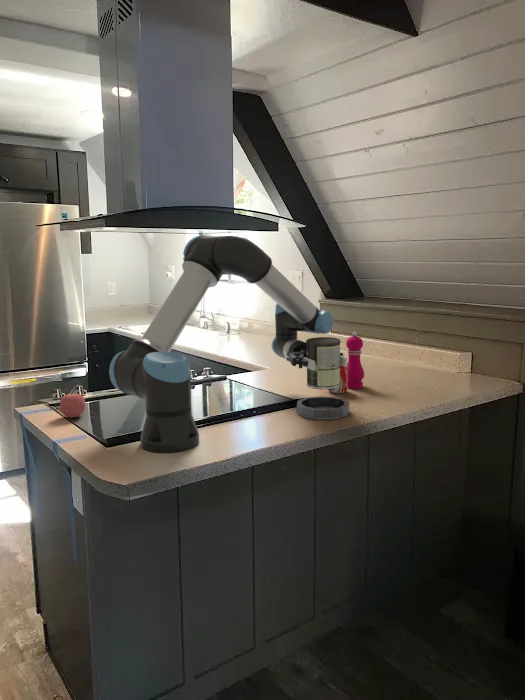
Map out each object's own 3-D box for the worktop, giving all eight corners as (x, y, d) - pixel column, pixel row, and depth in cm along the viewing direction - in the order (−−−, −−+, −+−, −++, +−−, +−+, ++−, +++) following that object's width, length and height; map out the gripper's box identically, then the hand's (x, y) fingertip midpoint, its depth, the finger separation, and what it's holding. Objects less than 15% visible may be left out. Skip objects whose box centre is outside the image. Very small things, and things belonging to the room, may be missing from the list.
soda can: (345, 394, 197) (345, 360, 195) (325, 393, 200) (325, 359, 198) (349, 390, 204) (349, 356, 202) (329, 388, 206) (330, 355, 204)
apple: (60, 415, 178) (58, 390, 177) (85, 412, 181) (83, 387, 179) (61, 421, 171) (59, 395, 170) (87, 419, 174) (85, 393, 172)
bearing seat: (311, 422, 167) (311, 412, 166) (289, 408, 181) (289, 399, 181) (358, 416, 172) (358, 406, 172) (333, 403, 187) (333, 394, 186)
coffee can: (301, 387, 173) (300, 341, 171) (314, 380, 182) (313, 336, 180) (333, 391, 169) (333, 343, 166) (345, 383, 178) (345, 338, 175)
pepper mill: (356, 390, 204) (357, 334, 200) (340, 387, 209) (340, 332, 205) (367, 386, 209) (368, 331, 206) (351, 383, 214) (351, 330, 210)
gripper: (328, 359, 195) (363, 372, 175) (267, 366, 187) (295, 380, 167) (328, 338, 194) (363, 348, 174) (266, 343, 186) (295, 354, 166)
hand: (330, 364), depth 170 cm, fingers closed on coffee can, 10 cm apart
